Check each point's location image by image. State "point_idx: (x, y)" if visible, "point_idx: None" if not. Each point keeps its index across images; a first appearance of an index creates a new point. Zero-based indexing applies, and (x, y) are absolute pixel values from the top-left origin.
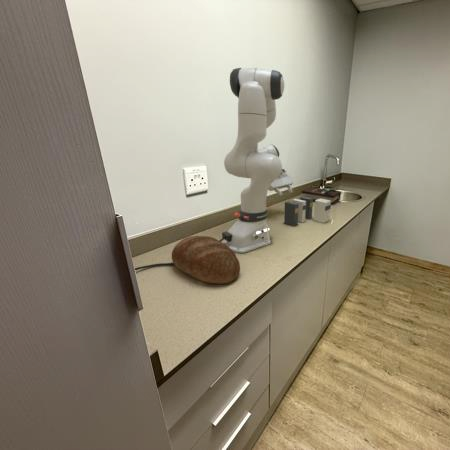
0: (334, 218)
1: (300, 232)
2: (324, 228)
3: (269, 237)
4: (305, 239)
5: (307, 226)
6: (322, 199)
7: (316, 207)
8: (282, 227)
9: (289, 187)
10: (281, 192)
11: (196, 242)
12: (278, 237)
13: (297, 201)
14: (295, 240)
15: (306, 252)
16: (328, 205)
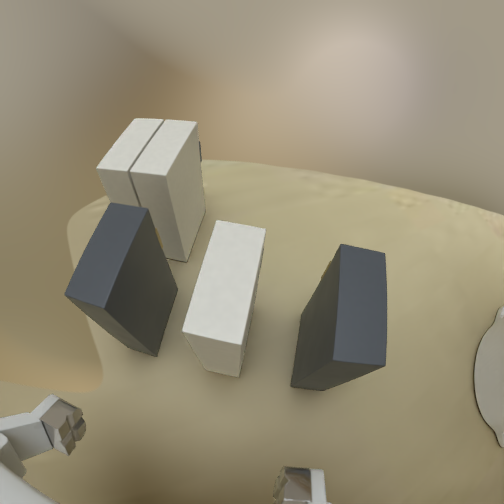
0: None
1: None
2: (273, 195)
3: (492, 328)
4: (413, 227)
5: (294, 261)
6: (121, 150)
7: (179, 198)
8: None
9: (13, 443)
10: (302, 487)
11: None
12: (462, 315)
13: (253, 289)
14: (441, 253)
15: (462, 205)
16: None
